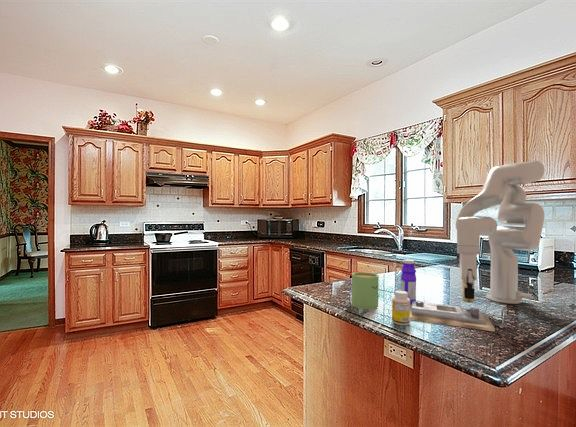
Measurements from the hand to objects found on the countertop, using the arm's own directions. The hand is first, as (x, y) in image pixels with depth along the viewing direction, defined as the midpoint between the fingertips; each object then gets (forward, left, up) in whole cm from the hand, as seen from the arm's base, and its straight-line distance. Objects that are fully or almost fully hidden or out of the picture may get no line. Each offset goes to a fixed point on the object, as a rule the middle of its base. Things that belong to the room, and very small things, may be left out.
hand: (468, 296), depth 118 cm
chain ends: (+9, +17, -5) cm, 19 cm away
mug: (+37, +13, -5) cm, 39 cm away
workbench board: (+9, +17, -5) cm, 19 cm away
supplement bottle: (+23, +29, -5) cm, 37 cm away
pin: (0, 0, -2) cm, 2 cm away
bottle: (+22, +2, -5) cm, 22 cm away
